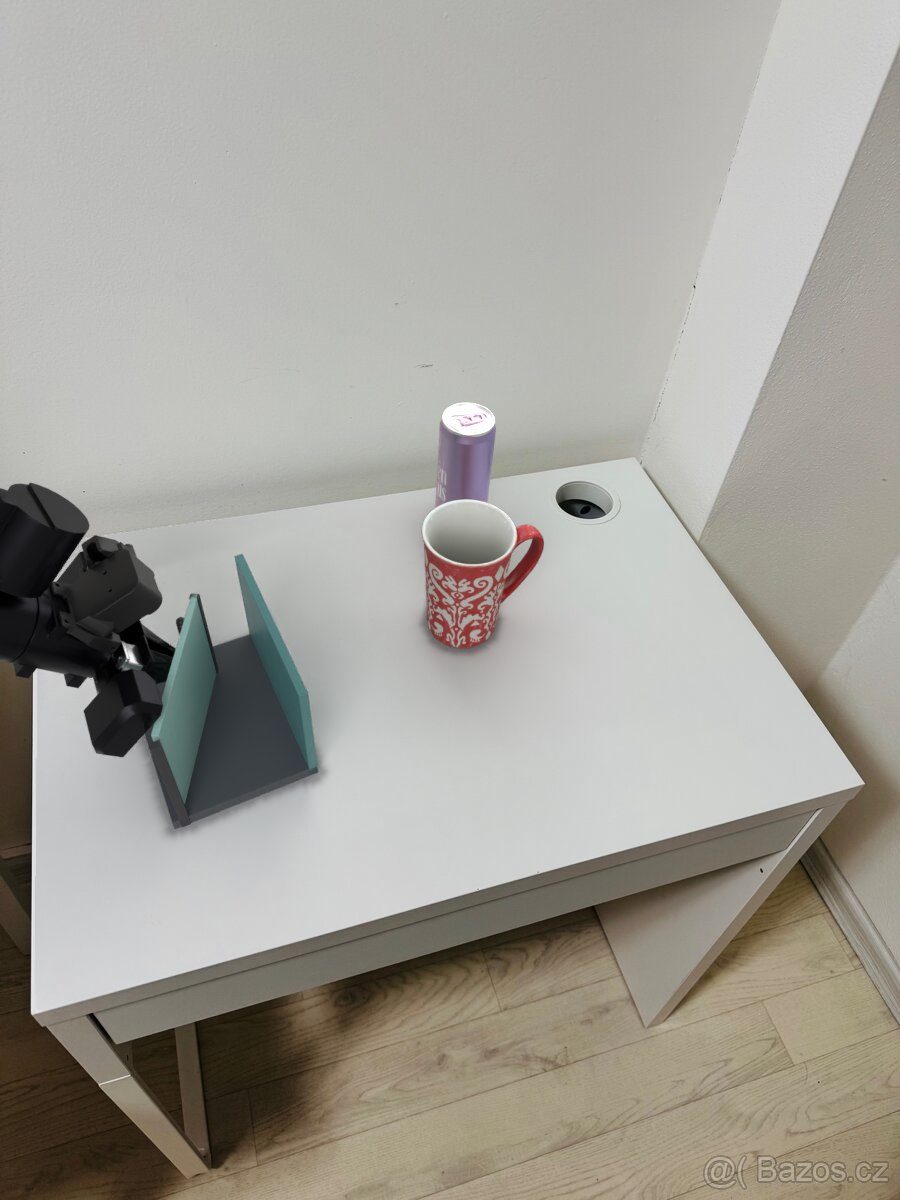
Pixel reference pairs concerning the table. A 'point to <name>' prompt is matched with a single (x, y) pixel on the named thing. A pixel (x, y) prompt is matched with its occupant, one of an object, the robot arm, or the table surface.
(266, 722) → the shower stall
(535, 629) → the table surface
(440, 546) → the mug
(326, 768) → the table surface
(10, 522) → the robot arm
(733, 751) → the table surface
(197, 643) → the shower door
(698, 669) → the table surface
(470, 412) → the beverage can
